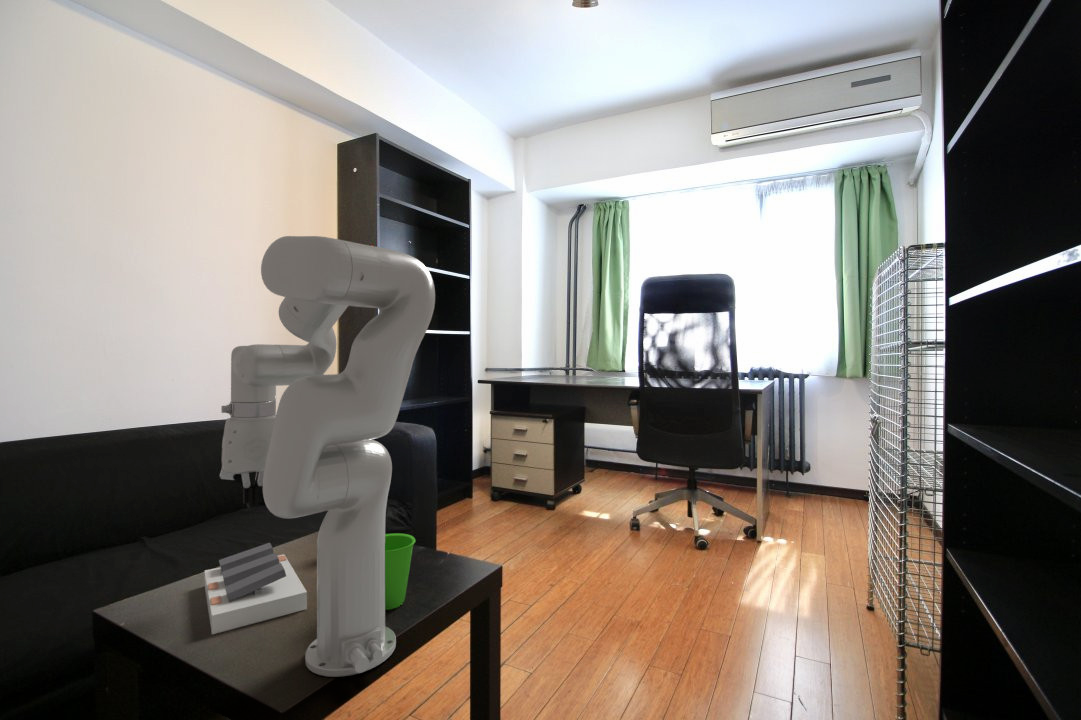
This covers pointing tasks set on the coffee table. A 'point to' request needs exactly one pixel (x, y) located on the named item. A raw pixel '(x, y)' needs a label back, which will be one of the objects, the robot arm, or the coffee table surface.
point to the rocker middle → (249, 568)
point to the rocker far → (245, 556)
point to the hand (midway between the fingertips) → (252, 506)
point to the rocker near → (255, 582)
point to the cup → (397, 568)
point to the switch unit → (253, 600)
